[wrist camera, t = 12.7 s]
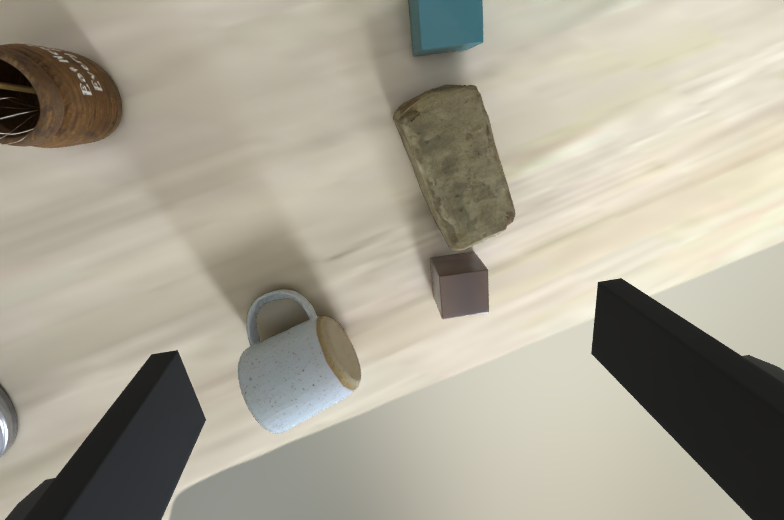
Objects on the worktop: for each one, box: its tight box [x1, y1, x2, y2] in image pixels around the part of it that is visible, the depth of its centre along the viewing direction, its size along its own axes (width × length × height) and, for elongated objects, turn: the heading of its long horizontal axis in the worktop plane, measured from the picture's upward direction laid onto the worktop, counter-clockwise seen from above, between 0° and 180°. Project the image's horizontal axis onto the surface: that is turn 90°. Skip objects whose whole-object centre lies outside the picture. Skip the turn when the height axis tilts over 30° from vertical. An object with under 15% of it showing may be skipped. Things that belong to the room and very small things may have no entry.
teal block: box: [409, 0, 483, 56], centre depth 26 cm, size 4×4×4 cm
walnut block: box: [430, 252, 489, 319], centre depth 33 cm, size 4×4×4 cm
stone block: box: [393, 85, 515, 251], centre depth 29 cm, size 6×12×5 cm, turn 24°
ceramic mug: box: [238, 289, 361, 433], centre depth 33 cm, size 11×8×8 cm
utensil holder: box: [0, 44, 122, 148], centre depth 22 cm, size 6×6×12 cm
